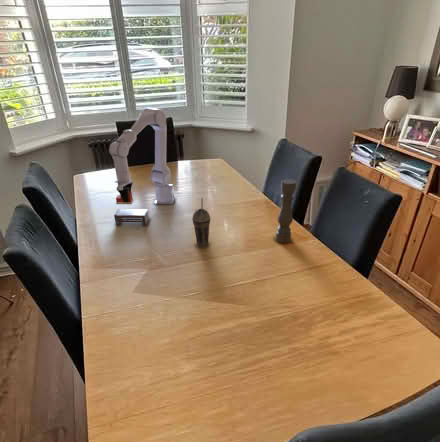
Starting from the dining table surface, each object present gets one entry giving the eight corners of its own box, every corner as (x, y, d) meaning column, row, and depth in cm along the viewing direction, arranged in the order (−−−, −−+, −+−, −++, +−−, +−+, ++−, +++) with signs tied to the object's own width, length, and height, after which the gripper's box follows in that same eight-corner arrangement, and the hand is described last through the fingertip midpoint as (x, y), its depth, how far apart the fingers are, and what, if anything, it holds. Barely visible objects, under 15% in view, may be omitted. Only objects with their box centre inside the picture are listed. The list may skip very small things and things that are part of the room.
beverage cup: (190, 246, 148) (187, 200, 137) (199, 239, 154) (197, 194, 142) (205, 250, 146) (204, 203, 134) (214, 243, 151) (213, 197, 139)
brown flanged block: (148, 219, 171) (147, 209, 168) (146, 225, 165) (144, 215, 162) (119, 219, 172) (117, 209, 169) (115, 225, 166) (113, 215, 163)
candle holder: (290, 243, 150) (296, 184, 135) (275, 242, 151) (280, 183, 136) (290, 236, 155) (297, 179, 140) (276, 235, 156) (281, 178, 141)
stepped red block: (133, 201, 171) (131, 190, 168) (131, 204, 168) (129, 194, 165) (118, 201, 171) (116, 190, 168) (116, 204, 168) (114, 194, 165)
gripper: (117, 165, 167) (122, 194, 175) (108, 175, 155) (114, 205, 163) (132, 165, 166) (137, 194, 174) (124, 175, 155) (129, 205, 163)
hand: (127, 199), depth 169 cm, fingers closed on stepped red block, 4 cm apart
